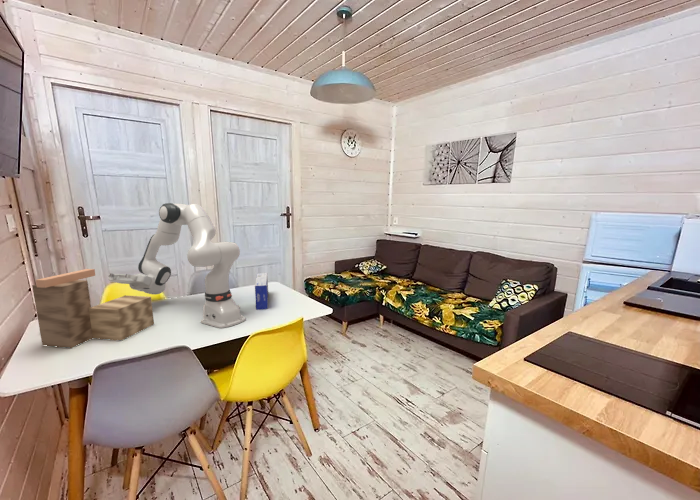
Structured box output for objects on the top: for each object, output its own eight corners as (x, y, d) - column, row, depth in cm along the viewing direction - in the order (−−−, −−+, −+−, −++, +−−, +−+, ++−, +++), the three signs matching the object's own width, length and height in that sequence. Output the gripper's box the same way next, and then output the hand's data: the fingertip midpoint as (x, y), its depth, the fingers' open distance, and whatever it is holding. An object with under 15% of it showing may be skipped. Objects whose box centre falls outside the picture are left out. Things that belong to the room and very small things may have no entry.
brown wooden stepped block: (104, 321, 151) (97, 270, 147) (153, 324, 147) (148, 272, 143) (42, 346, 124) (32, 285, 120) (101, 350, 120) (92, 288, 116)
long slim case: (87, 275, 137) (86, 268, 137) (95, 275, 137) (94, 269, 136) (36, 287, 118) (35, 279, 117) (45, 287, 117) (44, 280, 117)
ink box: (257, 294, 195) (256, 273, 193) (268, 293, 197) (267, 272, 195) (255, 310, 166) (254, 285, 164) (267, 309, 168) (266, 284, 166)
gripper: (124, 275, 165) (102, 268, 152) (157, 277, 163) (138, 270, 150) (120, 286, 163) (97, 280, 150) (154, 288, 160) (134, 282, 148)
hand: (118, 275), depth 150 cm, fingers open, 8 cm apart
